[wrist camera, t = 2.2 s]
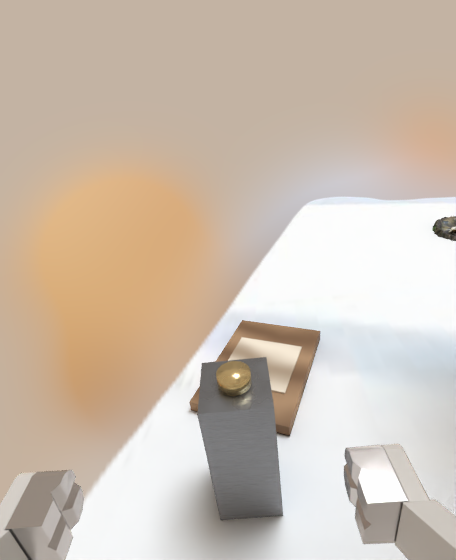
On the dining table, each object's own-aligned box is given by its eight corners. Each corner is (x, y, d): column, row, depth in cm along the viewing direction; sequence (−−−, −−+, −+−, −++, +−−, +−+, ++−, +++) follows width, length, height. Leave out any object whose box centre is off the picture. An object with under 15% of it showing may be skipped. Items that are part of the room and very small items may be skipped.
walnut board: (243, 327, 52) (242, 319, 51) (320, 338, 48) (319, 329, 47) (191, 410, 39) (189, 400, 39) (289, 435, 35) (289, 425, 34)
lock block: (275, 458, 33) (265, 346, 27) (283, 515, 29) (273, 396, 23) (221, 463, 33) (200, 353, 27) (220, 520, 29) (194, 403, 23)
